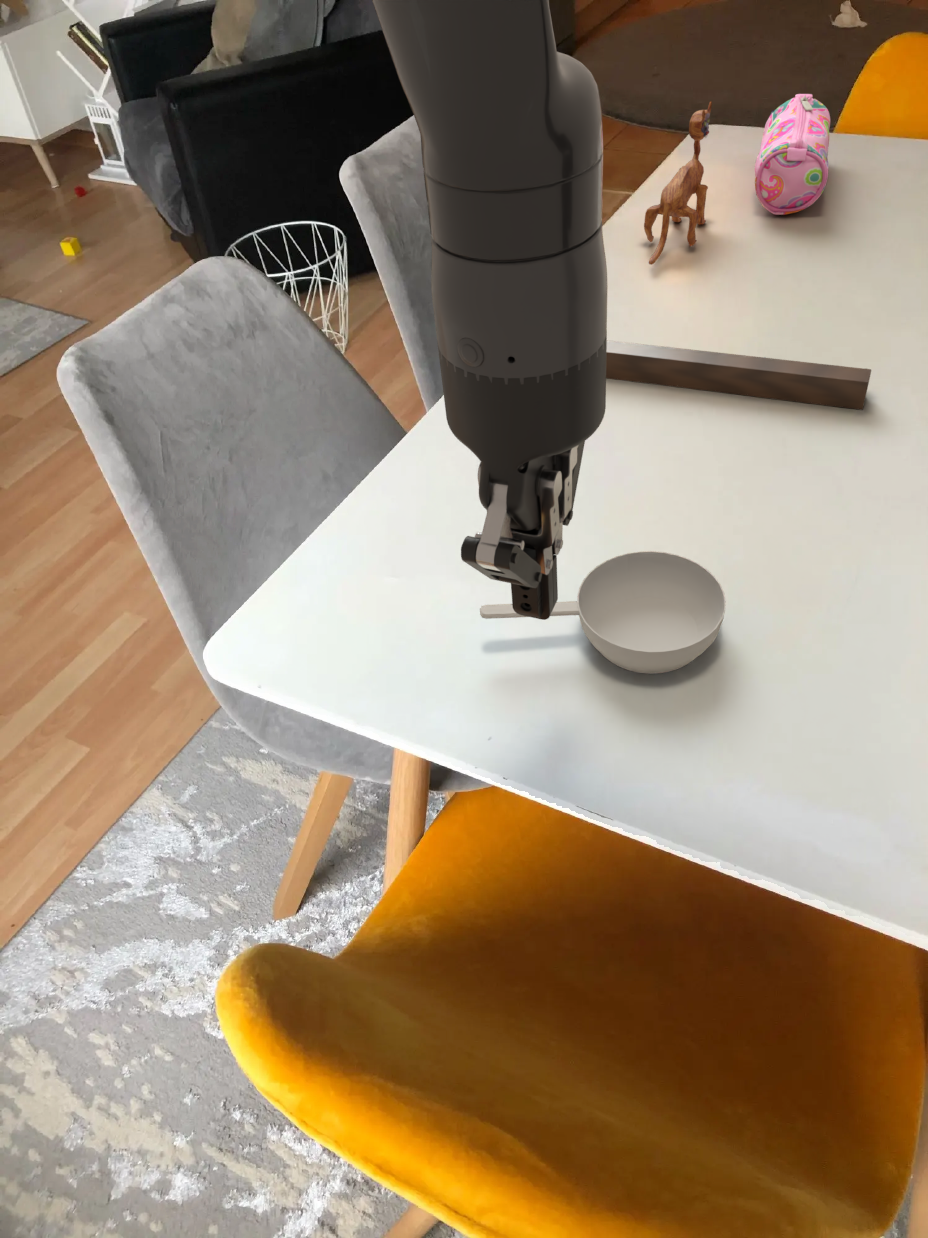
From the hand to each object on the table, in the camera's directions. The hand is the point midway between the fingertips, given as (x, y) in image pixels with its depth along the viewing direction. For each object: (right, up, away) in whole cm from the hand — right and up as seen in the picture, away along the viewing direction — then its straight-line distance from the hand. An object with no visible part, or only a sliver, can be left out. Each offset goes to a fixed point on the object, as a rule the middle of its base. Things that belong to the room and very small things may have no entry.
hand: (535, 608), depth 54 cm
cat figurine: (+22, +47, +66) cm, 84 cm away
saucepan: (+6, -2, +19) cm, 20 cm away
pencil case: (+40, +57, +75) cm, 102 cm away
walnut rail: (+20, +23, +42) cm, 52 cm away
